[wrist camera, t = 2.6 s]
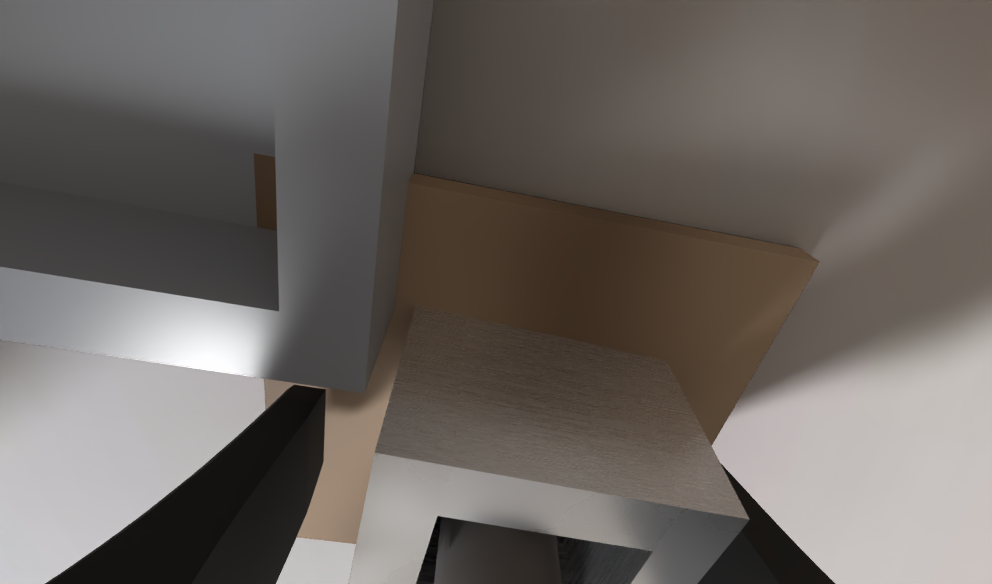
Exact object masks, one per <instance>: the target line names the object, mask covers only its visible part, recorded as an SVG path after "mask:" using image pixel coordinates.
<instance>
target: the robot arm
mask: <svg viewBox="0 0 992 584" xmlns="http://www.w3.org/2000/svg"><path fill="white" fill-rule="evenodd" d="M325 405H326V389H321V388H314V387H307V386H300V385H293V386H291V387H290V388H288V389H287V390H286V391H285V392H284V393H283V394H282V395H281V396H280V397H279V398H278V399H277V400H276V401H275V402H274V403H273V404H272V405H271V406H269V407H268V408H267V409H266V410H265V411H264V412H263V413H262V414H261V415H260V416H259V417H258V418H257V419H256V420H255V421H254V422H252V423H251V424H250V425H249V426H248V427H247V428H246V429H245V430H244V431H243V432H242V433H240V434H239V435H238V436H237V437H236V438H235V439H234V440H233V441H231V442H230V443H229V444H228V445H227V446H226V447H224V448H223V449H222V450H221V451H220V452H219V453H218V454H216V455H215V456H214V457H213V458H212V459H211V460H210V461H208V462H207V463H206V464H205V465H204V466H203V467H201V468H200V469H199V470H198V471H197V472H195V473H194V474H193V475H192V476H191V477H189V478H188V479H187V480H186V481H184V482H183V483H182V484H181V485H179V486H178V487H177V488H176V489H174V490H173V491H172V492H171V493H169V494H168V495H167V496H166V497H164V498H163V499H162V500H160V501H159V502H158V503H157V504H155V505H154V506H153V507H152V508H150V509H149V510H148V511H147V512H145V513H144V514H143V515H141V516H140V517H139V518H137V519H136V520H135V521H133V522H132V523H131V524H129V525H128V526H127V527H125V528H124V529H123V530H121V531H120V532H119V533H117V534H116V535H115V536H113V537H112V538H110V539H109V540H108V541H106V542H105V543H104V544H102V545H101V546H99V547H98V548H96V549H95V550H94V551H92V552H91V553H89V554H88V555H87V556H85V557H84V558H82V559H81V560H79V561H78V562H77V563H75V564H74V565H72V566H71V567H69V568H68V569H66V570H65V571H64V572H62V573H61V574H59V575H58V576H56V577H55V578H53V579H52V580H50V581H48V582H47V583H45V584H276V582H277V580H278V577H279V575H280V573H281V571H282V568H283V566H284V564H285V562H286V560H287V557H288V555H289V553H290V551H291V548H292V546H293V544H294V541H295V539H296V537H297V535H298V532H299V530H300V528H301V526H302V523H303V521H304V519H305V516H306V514H307V511H308V508H309V505H310V502H311V499H312V496H313V493H314V490H315V487H316V484H317V481H318V478H319V475H320V472H321V468H322V465H323V462H324V435H325ZM720 464H721V463H720ZM721 466H722V467H723V469H724V471H725V473H726V475H727V477H728V479H729V481H730V483H731V485H732V487H733V489H734V490H735V492H736V494H737V496H738V498H739V500H740V502H741V504H742V506H743V508H744V510H745V511H746V513H747V515H748V517H749V519H750V520H749V521H748V523H747V524H746V525H745V526H744V528H743V529H742V530H741V531H740V532H739V534H738V535H737V536H736V537H735V539H734V540H733V541H732V542H731V543H730V545H729V546H728V547H727V548H726V549H725V551H724V552H723V553H722V554H721V556H720V557H719V558H718V559H717V560H716V562H715V563H714V564H713V565H712V567H711V568H710V569H709V570H708V571H707V573H706V574H705V575H704V576H703V578H702V579H701V580H700V581H699V582H698V584H835V583H834V582H833V581H832V580H831V579H830V578H829V577H828V576H827V575H826V574H825V573H824V572H823V571H822V570H821V569H820V568H819V567H818V566H817V565H816V564H815V563H814V562H813V561H812V560H811V559H810V558H809V557H808V556H807V555H806V554H805V553H804V552H803V551H802V550H801V549H800V548H799V547H798V546H797V545H796V544H795V543H794V541H793V540H792V539H791V538H790V537H789V536H788V535H787V534H786V533H785V532H784V531H783V530H782V529H781V528H780V527H779V526H778V525H777V524H776V522H775V521H774V520H773V519H772V518H771V517H770V516H769V515H768V514H767V513H766V512H765V511H764V510H763V509H762V507H761V506H760V505H759V504H758V503H757V502H756V501H755V500H754V499H753V498H752V497H751V496H750V494H749V493H748V492H747V491H746V490H745V489H744V488H743V487H742V486H741V485H740V484H739V483H738V481H737V480H736V479H735V478H734V477H733V476H732V475H731V474H730V473H729V472H728V471H727V470H726V469H725V467H724V466H723V465H722V464H721Z"/></svg>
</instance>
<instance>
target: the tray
mask: <svg viewBox="0 0 992 584" xmlns="http://www.w3.org/2000/svg"><path fill="white" fill-rule="evenodd" d="M433 4H434V0H0V340H4V341H11V342H18V343H25V344H32V345H39V346H45V347H52V348H59V349H66V350H73V351H79V352H86V353H93V354H100V355H107V356H114V357H120V358H127V359H134V360H141V361H148V362H155V363H161V364H168V365H175V366H182V367H189V368H195V369H202V370H209V371H216V372H223V373H230V374H236V375H243V376H250V377H257V378H264V379H271V380H277V381H284V382H291V383H298V384H305V385H311V386H318V387H325V388H332V389H339V390H346V391H352V392H359V393H365V391H366V388H367V385H368V382H369V379H370V376H371V374H372V371H373V368H374V365H375V362H376V359H377V357H378V354H379V351H380V348H381V345H382V342H383V340H384V337H385V334H386V331H387V328H388V326H389V323H390V320H391V317H392V314H393V311H394V307H395V298H396V290H397V281H398V272H399V263H400V254H401V245H402V236H403V227H404V218H405V209H406V200H407V191H408V183H409V181H410V179H411V177H412V176H413V174H414V167H415V158H416V150H417V141H418V132H419V124H420V115H421V107H422V98H423V89H424V81H425V72H426V64H427V55H428V47H429V38H430V29H431V21H432V12H433ZM254 153H256V154H261V155H266V156H272V157H275V165H276V170H275V171H276V205H277V218H276V219H277V231H274V230H269V229H265V228H264V229H263V228H257V215H256V198H257V197H256V194H255V173H254ZM258 167H259V166H258ZM262 168H263V167H262ZM265 177H266V176H265ZM257 179H258V178H257ZM258 187H259V186H258ZM259 190H260V189H259ZM259 190H258V191H259ZM265 195H266V194H265ZM261 204H262V203H261ZM266 205H267V204H266ZM274 218H275V217H274ZM258 220H259V219H258ZM259 221H260V220H259ZM271 229H272V228H271Z"/></svg>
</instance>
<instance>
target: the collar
mask: <svg viewBox="0 0 992 584" xmlns="http://www.w3.org/2000/svg"><path fill="white" fill-rule="evenodd" d="M441 517H447V518H453V519H460V520H466V521H472V522H478V523H484V524H490V525H496V526H502V527H508V528H514V529H520V530H526V531H533V532H539V533H545V534H551V535H556V539H557V548H558V556H559V564H560V572H561V580H562V584H698V582H699V581H700V580H701V579H702V578H703V576H704V575H705V574H706V573H707V571H708V570H709V569H710V568H711V567H712V565H713V564H714V563H715V562H716V560H717V559H718V558H719V557H720V556H721V554H722V553H723V552H724V551H725V549H726V548H727V547H728V546H729V545H730V543H731V542H732V541H733V540H734V539H735V537H736V536H737V535H738V534H739V532H740V531H741V530H742V529H743V528H744V526H745V525H746V524H747V523H748V521H749V520H750V519H749V517H748V515H747V513H746V511H745V510H744V508H743V506H742V504H741V502H740V500H739V498H738V496H737V494H736V492H735V490H734V489H733V487H732V485H731V483H730V481H729V479H728V477H727V475H726V473H725V471H724V469H723V467H722V466H721V464H720V462H719V460H718V458H717V456H716V454H715V452H714V450H713V448H712V446H711V445H710V443H709V441H708V439H707V437H706V435H705V433H704V431H703V429H702V427H701V425H700V424H699V422H698V420H697V418H696V416H695V414H694V412H693V410H692V408H691V406H690V404H689V403H688V401H687V399H686V397H685V395H684V393H683V391H682V389H681V387H680V385H679V383H678V382H677V380H676V378H675V376H674V374H673V372H672V370H671V368H670V366H669V364H668V362H667V361H666V360H662V359H657V358H652V357H648V356H643V355H639V354H634V353H630V352H625V351H621V350H616V349H612V348H607V347H603V346H598V345H594V344H589V343H585V342H580V341H576V340H571V339H567V338H562V337H558V336H553V335H549V334H544V333H540V332H535V331H531V330H526V329H522V328H517V327H513V326H508V325H504V324H499V323H495V322H490V321H486V320H481V319H477V318H472V317H468V316H463V315H459V314H454V313H449V312H445V311H440V310H436V309H431V308H427V307H422V306H418V305H416V306H415V310H414V314H413V317H412V321H411V324H410V328H409V331H408V335H407V338H406V342H405V346H404V349H403V353H402V356H401V360H400V363H399V367H398V371H397V374H396V378H395V381H394V385H393V388H392V392H391V396H390V399H389V403H388V406H387V410H386V413H385V417H384V421H383V424H382V428H381V431H380V435H379V438H378V442H377V446H376V449H375V453H374V458H373V463H372V468H371V473H370V478H369V483H368V488H367V493H366V498H365V503H364V508H363V513H362V518H361V523H360V528H359V533H358V538H357V543H356V548H355V553H354V558H353V563H352V568H351V573H350V578H349V583H348V584H434V579H435V570H436V560H437V551H438V542H439V532H440V523H441Z"/></svg>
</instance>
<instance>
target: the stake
mask: <svg viewBox="0 0 992 584" xmlns="http://www.w3.org/2000/svg"><path fill="white" fill-rule="evenodd" d="M258 166H259V167H258ZM262 167H263V168H262ZM275 170H276V165H275V157H272V156H266V155H261V154H256V153H254V173H255V194H256V197H257V198H256V215H257V228H263V229H264V228H265V229H269V230H274V231H277V219H276V218H277V205H276V171H275ZM265 176H266V177H265ZM257 178H258V179H257ZM258 186H259V187H258ZM259 189H260V190H259ZM258 190H259V191H258ZM265 194H266V195H265ZM261 203H262V204H261ZM266 204H267V205H266ZM274 217H275V218H274ZM258 219H259V220H260V221H259V220H258ZM271 228H272V229H271ZM818 263H819V261H817V260H816V259H815V258H813V257H812V256H810V255H809V254H808V253H806V252H805V251H803V250H802V249H800V248H795V247H790V246H785V245H780V244H775V243H770V242H764V241H759V240H754V239H749V238H744V237H739V236H734V235H729V234H723V233H718V232H713V231H708V230H703V229H698V228H693V227H687V226H682V225H677V224H672V223H667V222H662V221H657V220H651V219H646V218H641V217H636V216H631V215H626V214H621V213H615V212H610V211H605V210H600V209H595V208H590V207H585V206H579V205H574V204H569V203H564V202H559V201H554V200H549V199H543V198H538V197H533V196H528V195H523V194H518V193H513V192H508V191H502V190H497V189H492V188H487V187H482V186H477V185H472V184H466V183H461V182H456V181H451V180H446V179H441V178H436V177H430V176H425V175H420V174H415V173H414V174H413V176H412V177H411V179H410V181H409V183H408V191H407V200H406V209H405V218H404V227H403V236H402V245H401V254H400V263H399V272H398V281H397V290H396V298H395V307H394V311H393V314H392V317H391V320H390V323H389V326H388V328H387V331H386V334H385V337H384V340H383V342H382V345H381V348H380V351H379V354H378V357H377V359H376V362H375V365H374V368H373V371H372V374H371V376H370V379H369V382H368V385H367V388H366V391H365V393H359V392H352V391H346V390H339V389H332V388H325V387H318V386H311V385H305V384H298V383H291V382H284V381H277V380H271V379H264V385H265V406H266V409H267V408H268V407H269V406H271V405H272V404H273V403H274V402H275V401H276V400H277V399H278V398H279V397H280V396H281V395H282V394H283V393H284V392H285V391H286V390H287V389H288V388H290V387H291V386H293V385H300V386H307V387H314V388H321V389H326V405H325V435H324V462H323V465H322V468H321V472H320V475H319V478H318V481H317V484H316V487H315V490H314V493H313V496H312V499H311V502H310V505H309V508H308V511H307V514H306V516H305V519H304V521H303V523H302V526H301V528H300V530H299V532H298V535H297V537H300V538H309V539H317V540H326V541H335V542H343V543H352V544H356V543H357V538H358V533H359V528H360V523H361V518H362V513H363V508H364V503H365V498H366V493H367V488H368V483H369V478H370V473H371V468H372V463H373V458H374V453H375V449H376V446H377V442H378V438H379V435H380V431H381V428H382V424H383V421H384V417H385V413H386V410H387V406H388V403H389V399H390V396H391V392H392V388H393V385H394V381H395V378H396V374H397V371H398V367H399V363H400V360H401V356H402V353H403V349H404V346H405V342H406V338H407V335H408V331H409V328H410V324H411V321H412V317H413V314H414V310H415V306H416V305H418V306H422V307H427V308H431V309H436V310H440V311H445V312H449V313H454V314H459V315H463V316H468V317H472V318H477V319H481V320H486V321H490V322H495V323H499V324H504V325H508V326H513V327H517V328H522V329H526V330H531V331H535V332H540V333H544V334H549V335H553V336H558V337H562V338H567V339H571V340H576V341H580V342H585V343H589V344H594V345H598V346H603V347H607V348H612V349H616V350H621V351H625V352H630V353H634V354H639V355H643V356H648V357H652V358H657V359H662V360H666V361H667V362H668V364H669V366H670V368H671V370H672V372H673V374H674V376H675V378H676V380H677V382H678V383H679V385H680V387H681V389H682V391H683V393H684V395H685V397H686V399H687V401H688V403H689V404H690V406H691V408H692V410H693V412H694V414H695V416H696V418H697V420H698V422H699V424H700V425H701V427H702V429H703V431H704V433H705V435H706V437H707V439H708V441H709V443H710V445H711V446H712V444H713V442H714V441H715V439H716V437H717V436H718V434H719V432H720V430H721V429H722V427H723V425H724V424H725V422H726V420H727V418H728V417H729V415H730V413H731V412H732V410H733V408H734V407H735V405H736V403H737V401H738V400H739V398H740V396H741V395H742V393H743V391H744V390H745V388H746V386H747V384H748V383H749V381H750V379H751V378H752V376H753V374H754V372H755V371H756V369H757V367H758V366H759V364H760V362H761V361H762V359H763V357H764V355H765V354H766V352H767V350H768V349H769V347H770V345H771V343H772V342H773V340H774V338H775V337H776V335H777V333H778V332H779V330H780V328H781V326H782V325H783V323H784V321H785V320H786V318H787V316H788V314H789V313H790V311H791V309H792V308H793V306H794V304H795V303H796V301H797V299H798V297H799V296H800V294H801V292H802V291H803V289H804V287H805V286H806V284H807V282H808V280H809V279H810V277H811V275H812V274H813V272H814V270H815V268H816V267H817V265H818ZM434 584H562V580H561V572H560V564H559V556H558V548H557V539H556V535H551V534H545V533H539V532H533V531H526V530H520V529H514V528H508V527H502V526H496V525H490V524H484V523H478V522H472V521H466V520H460V519H453V518H447V517H441V523H440V532H439V542H438V551H437V560H436V570H435V579H434Z"/></svg>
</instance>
